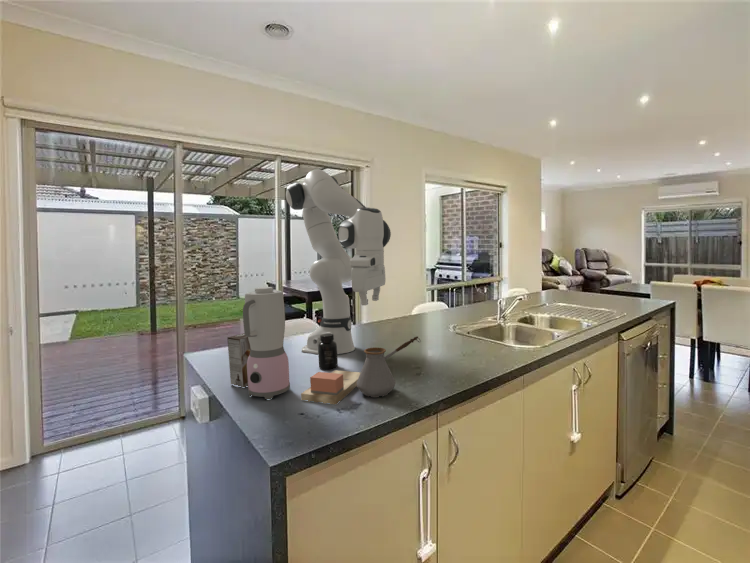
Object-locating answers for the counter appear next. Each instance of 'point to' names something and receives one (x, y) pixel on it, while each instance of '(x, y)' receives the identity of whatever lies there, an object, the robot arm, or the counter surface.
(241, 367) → the coffee box
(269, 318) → the blender
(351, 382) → the maple board
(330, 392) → the block
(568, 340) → the counter surface
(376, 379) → the coffee pot
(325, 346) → the supplement bottle
